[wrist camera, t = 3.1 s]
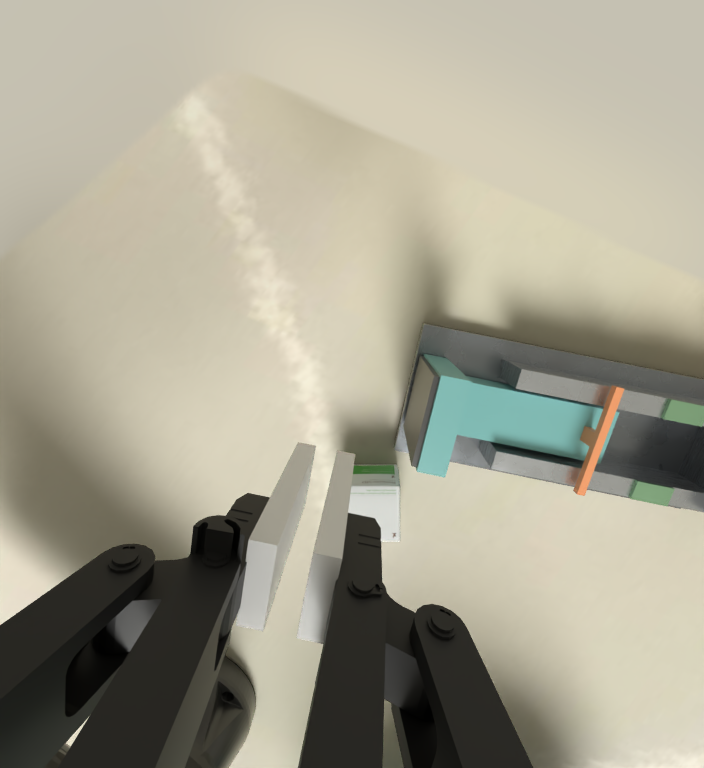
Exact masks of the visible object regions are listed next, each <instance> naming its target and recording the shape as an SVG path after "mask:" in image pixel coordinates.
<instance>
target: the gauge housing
mask: <svg viewBox="0 0 704 768" xmlns="http://www.w3.org/2000/svg"><path fill="white" fill-rule="evenodd" d="M424 354H429V355H434V356H439V357H444V358H447V359H448V360H450V361H451V362H452V363H453V364H454V365H455V366H456V367H457V368H458V369H459V370H460V371H461V372H462V373H463V374H464V375H465V376H470V377H474V378H479V379H484V380H489V381H494V382H499V383H504V384H509V385H511V386H513V387H514V388H515V389H520V390H525V391H530V392H535V393H540V394H544V395H549V396H554V397H559V398H564V399H569V400H574V401H579V402H584V403H589V404H594V405H599V406H605V403H606V400H607V397H608V395H609V392H610V389H611V386H612V385H613V386H618V387H621V388H624V392H623V394H622V397H621V400H620V402H619V405H618V408H617V410H616V411H618V412H620V413H619V415H618V418H617V421H616V423H615V426H614V429H613V431H612V434H611V437H610V439H609V442H608V444H607V447H606V450H605V452H604V455H603V458H602V460H601V463H600V464H599V463H597V464H596V466H595V469H594V472H593V474H592V477H591V480H590V482H589V485H588V488H587V490H592V491H597V492H602V493H607V494H612V495H617V496H621V497H626V498H630V499H634V500H639V501H644V502H648V503H653V504H658V505H663V506H671V507H675V508H680V509H681V508H685V509H690V510H695V511H700V512H704V379H701V378H696V377H691V376H686V375H681V374H676V373H671V372H666V371H661V370H656V369H651V368H646V367H641V366H636V365H631V364H626V363H621V362H616V361H611V360H606V359H601V358H596V357H591V356H586V355H581V354H576V353H571V352H566V351H561V350H556V349H551V348H546V347H541V346H536V345H531V344H526V343H521V342H516V341H511V340H506V339H501V338H496V337H491V336H486V335H481V334H476V333H471V332H466V331H461V330H456V329H451V328H446V327H441V326H436V325H431V324H426V323H423V325H422V329H421V333H420V338H419V342H418V346H417V350H416V355H415V359H414V363H413V367H412V372H411V376H410V380H409V384H408V389H407V393H406V397H405V401H404V406H403V410H402V414H401V418H400V422H399V427H398V431H397V435H396V439H395V444H394V450H396V451H401V452H406V453H409V451H408V447H407V442H406V437H405V432H404V427H403V425H404V420H405V416H406V412H407V408H408V404H409V400H410V395H411V391H412V387H413V383H414V379H415V374H416V370H417V366H418V362H419V358H420V356H424ZM450 462H455V463H460V464H465V465H469V466H474V467H479V468H484V469H489V470H494V471H499V472H504V473H509V474H514V475H518V476H523V477H528V478H533V479H538V480H543V481H548V482H553V483H558V484H563V485H568V486H572V487H575V485H576V482H577V479H578V476H579V474H580V471H581V468H582V466H583V463H584V460H579V459H574V458H569V457H564V456H559V455H554V454H549V453H544V452H540V451H535V450H530V449H525V448H520V447H515V446H510V445H505V444H500V443H495V442H490V441H485V440H480V439H476V438H471V437H466V436H461V435H457V436H456V440H455V443H454V447H453V451H452V454H451V458H450Z"/></svg>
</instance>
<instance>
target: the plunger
mask: <svg viewBox="0 0 704 768" xmlns="http://www.w3.org/2000/svg"><path fill="white" fill-rule="evenodd" d="M623 392H624V388H621V387H618V386H613V385H612V386H611V389H610V392H609V395H608V397H607V400H606V403H605V406H599V405H594V404H589V403H584V402H579V401H574V400H569V399H564V398H559V397H554V396H549V395H544V394H540V393H535V392H530V391H525V390H520V389H515V388H514V387H513V386H511V385H509V384H504V383H499V382H494V381H489V380H484V379H479V378H474V377H470V376H465V375H464V374H463V373H462V372H461V371H460V370H459V369H458V368H457V367H456V366H455V365H454V364H453V363H452V362H451V361H450V360H448V359H447V358H444V357H439V356H434V355H429V354H424V356H420V358H419V362H418V366H417V370H416V374H415V379H414V383H413V387H412V391H411V395H410V400H409V404H408V408H407V412H406V416H405V420H404V425H403V427H404V432H405V437H406V442H407V447H408V451H409V456H410V461H411V466H414V467H416V470H417V472H421V473H426V474H431V475H436V476H441V477H445V476H446V472H447V469H448V465H449V462H450V458H451V454H452V451H453V447H454V443H455V440H456V436H457V435H461V436H466V437H471V438H476V439H480V440H485V441H490V442H495V443H500V444H505V445H510V446H515V447H520V448H525V449H530V450H535V451H540V452H544V453H549V454H554V455H559V456H564V457H569V458H574V459H579V460H584V463H583V466H582V468H581V471H580V474H579V476H578V479H577V482H576V485H575V487H574V490H573V491H574V492H575V493H576V494H578V495H583V496H585V493H586V490H587V488H588V485H589V482H590V480H591V477H592V474H593V472H594V469H595V466H596V464H597V463H599V464H600V463H601V460H602V458H603V455H604V452H605V450H606V447H607V444H608V442H609V439H610V437H611V434H612V431H613V429H614V426H615V423H616V421H617V418H618V415H619V413H620V412H618V411H616V410H617V408H618V405H619V402H620V400H621V397H622V394H623Z"/></svg>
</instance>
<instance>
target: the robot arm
mask: <svg viewBox="0 0 704 768" xmlns="http://www.w3.org/2000/svg"><path fill="white" fill-rule="evenodd" d="M315 448H316V446H314V445H309V444H304V443H299V442H298V444H297V446H296V448H295V450H294V451H293V453H292V455H291V457H290V459H289V461H288V463H287V465H286V467H285V469H284V471H283V473H282V475H281V477H280V479H279V481H278V483H277V485H276V487H275V489H274V491H273V493H272V495H271V497H270V498H269V497H264V496H260V495H255V494H250V493H247V494H245V495H244V496H242V497H240V498H238V499H237V500H236V501H235V503H234V504H233V506H232V507H231V509H230V510H229V512H228V513H227V515H226V516H220V515H217V516H211V517H207V518H204V519H202V520H200V521H198V522H197V523H196V524H195V525H194V526H193V535H192V545H191V554H190V555H189V557H188V558H184V559H179V560H163V561H155V555H154V553H153V551H152V550H151V549H150V548H148V547H146V546H144V545H139V544H124V545H120V546H117V547H113V548H111V549H109V550H107V551H105V552H103V553H102V554H100V555H99V556H98V557H96V558H95V559H93V560H92V561H90V562H89V563H88V564H86V565H85V566H83V567H82V568H81V569H79V570H78V571H76V572H75V573H74V574H72V575H71V576H69V577H68V578H66V579H65V580H64V581H62V582H61V583H59V584H58V585H57V586H55V587H54V588H52V589H51V590H50V591H48V592H47V593H45V594H44V595H42V596H41V597H40V598H38V599H37V600H35V601H34V602H33V603H31V604H30V605H28V606H27V607H25V608H24V609H23V610H21V611H20V612H18V613H17V614H16V615H14V616H13V617H11V618H10V619H9V620H7V621H6V622H4V623H3V624H1V625H0V768H229V766H230V765H231V763H232V762H233V760H234V758H235V757H236V755H237V753H238V752H239V750H240V749H241V747H242V745H243V744H244V742H245V740H246V738H247V735H248V733H249V730H250V727H251V723H252V720H253V716H254V713H255V707H256V701H255V694H254V691H253V688H252V685H251V683H250V681H249V680H248V678H247V677H246V675H245V674H244V673H243V671H242V670H241V669H240V668H239V667H238V666H237V665H236V664H234V663H233V662H232V661H231V660H229V659H228V658H226V657H225V653H226V651H227V648H228V645H229V642H230V635H231V628H232V625H233V623H234V620H235V618H236V616H237V622H236V626H241V627H245V628H250V629H255V630H260V631H263V630H264V627H265V624H266V621H267V618H268V615H269V612H270V609H271V606H272V603H273V600H274V597H275V594H276V591H277V588H278V585H279V582H280V579H281V576H282V573H283V570H284V567H285V564H286V561H287V558H288V554H289V551H290V548H291V545H292V542H293V539H294V536H295V533H296V530H297V527H298V524H299V521H300V518H301V515H302V512H303V509H304V506H305V503H306V497H307V492H308V486H309V481H310V475H311V470H312V464H313V459H314V454H315ZM354 460H355V454H353V453H348V452H343V451H338V450H337V455H336V459H335V463H334V467H333V471H332V476H331V480H330V484H329V488H328V492H327V497H326V501H325V505H324V509H323V513H322V518H321V522H320V526H319V530H318V534H317V539H316V543H315V547H314V551H313V556H312V561H311V566H310V571H309V576H308V582H307V587H306V592H305V597H304V602H303V607H302V612H301V617H300V623H299V628H298V633H297V638H298V639H302V640H307V641H312V642H317V643H321V644H323V649H322V654H321V659H320V663H319V668H318V672H317V677H316V682H315V688H314V693H313V697H312V702H311V707H310V712H309V717H308V722H307V727H306V732H305V736H304V741H303V746H302V751H301V756H300V761H299V766H298V768H382V757H383V720H384V699H386V700H387V701H389V702H391V706H392V713H393V718H394V722H395V727H396V732H397V736H398V741H399V746H400V751H401V755H402V760H403V765H404V768H533V766H532V764H531V762H530V760H529V758H528V756H527V754H526V752H525V750H524V747H523V745H522V743H521V741H520V739H519V737H518V735H517V733H516V731H515V728H514V726H513V724H512V722H511V720H510V718H509V716H508V714H507V712H506V709H505V707H504V705H503V703H502V701H501V699H500V697H499V695H498V693H497V691H496V688H495V686H494V684H493V682H492V680H491V678H490V676H489V674H488V672H487V669H486V667H485V665H484V663H483V661H482V659H481V657H480V655H479V653H478V650H477V648H476V646H475V644H474V642H473V640H472V638H471V636H470V634H469V631H468V629H467V627H466V626H465V624H464V623H463V621H462V620H461V619H460V618H459V617H458V616H457V615H456V614H455V613H454V612H452V611H451V610H449V609H447V608H445V607H443V606H439V605H434V604H429V605H423V606H422V607H420V608H419V609H417V611H416V613H415V612H413V611H411V610H409V609H407V608H405V607H403V606H401V605H399V604H398V603H396V602H395V601H394V600H393V599H392V598H390V596H389V595H388V594H387V592H386V588H385V586H384V584H383V583H382V560H381V528H380V526H379V524H378V523H377V521H376V519H375V518H372V517H367V516H362V515H357V514H352V513H348V509H349V501H350V493H351V485H352V476H353V468H354ZM237 613H238V615H237ZM89 716H90V717H89ZM88 717H89V718H88ZM87 718H88V720H87V721H86V723H85V725H84V726H83V728H82V729H81V731H80V733H79V734H78V736H77V738H76V739H75V741H74V742H73V744H72V746H71V747H70V746H69V745H68V744H66V742H67V741H68V740H69V738H70V737H71V736H72V735H73V734H74V733H75V732H76V730H77V729H78V728H79V727H80V726H81V725H82V724H83V723H84V721H85V720H86V719H87Z"/></svg>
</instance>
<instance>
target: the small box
mask: <svg viewBox="0 0 704 768" xmlns="http://www.w3.org/2000/svg"><path fill="white" fill-rule="evenodd" d="M348 513H352V514H357V515H362V516H367V517H372V518H375V519H376V521H377V523H378V524H379V526H380V528H381V542H400V481H399V472H398V465H397V464H386V465H383V464H379V465H357V464H354V468H353V476H352V485H351V493H350V501H349V509H348Z"/></svg>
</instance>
